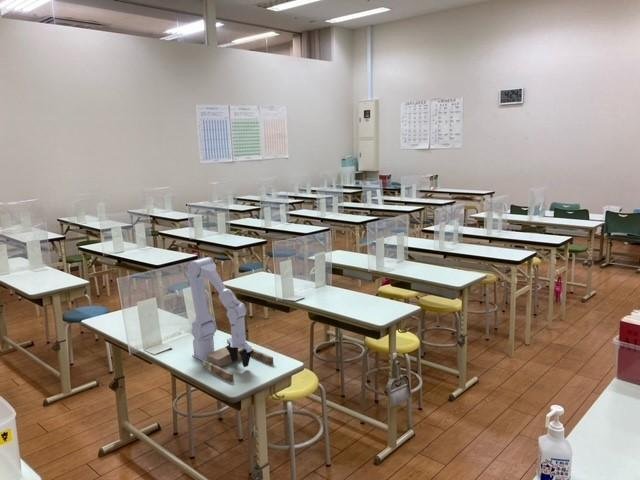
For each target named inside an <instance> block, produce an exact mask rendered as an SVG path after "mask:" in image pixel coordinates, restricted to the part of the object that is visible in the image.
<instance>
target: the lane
mask: <svg viewBox="0 0 640 480" xmlns="http://www.w3.org/2000/svg"><path fill="white" fill-rule="evenodd" d="M252 349H253V352H252V354H251V356H250V357H253V358H255V359H257V360H259V361H262V362H264V363H266V364H268V365H269V366H270V365H271V366H272V365H274V357H273V356H271V355H268V354H266V353H263V352H262V351H259V350H256V349H254V348H252ZM202 368H204V369H205V370H208V371H209V372H211V373H213V374H215V375H217V376H218V377H221V378H223V379H224V380H227V381H229V382H231V383H232V382H234V380H235V379H234V373H233V372H230V371H228V370H227V369H224V368H222V367H218V366H216V365H214V364H212V363H210V362H208V361H207V360H204V361H202Z"/></svg>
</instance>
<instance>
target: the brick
mask: <svg viewBox="0 0 640 480" xmlns="http://www.w3.org/2000/svg"><path fill="white" fill-rule="evenodd" d="M240 351H243V349H241V348H238V360H237V361H239V360H242V358H241V355H240V353H239V352H240ZM206 356H207V360H206V361H208V362H210V363H212V364H214V365H216V366H218V367H220V368H222V367H225V366H228V365H230V364H232V363H233V362H232V359H231V356H230V353H229V351H228V350H227V348H226V346H224V347H222V348H219V349H217V350H214V352H211V353H209V354H207V355H206Z"/></svg>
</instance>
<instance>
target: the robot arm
mask: <svg viewBox="0 0 640 480" xmlns="http://www.w3.org/2000/svg"><path fill="white" fill-rule="evenodd" d="M187 271H188V279H189V285H190V290H191V295H192V301H193V307H194V313H195V318H194V320H192V323H191V326H192V327H191V335H192V336H193V340H192V348H193V354H192V357H193V358H196V359H198V360H200V361H201V362H203V361H204V360H206V361H207V356H206V355H207V354H209V353H211V352H214V351H215V338H214V336H215V333H216V332H217V330H218V328H217V327H218V326H217V324H216V322H215V319H214V316H212V315H211V314H209V310H208V302H207V297H206V292H205V286H204V281H203V280H204V279H207V280H209V282H210V283H211V285H212V286H213V287H214V288H215V290H216V291H217V292H218V299H219V301H221V304H223V306H224V308H225V309H226V311H227V312H226V317H227V318H228V322H229V324H230V333H231V334H230V336H231V337H230V338H227V339H226V344H227V345H225V347H226V348H227V350H228V351H229V353H230V356H231V359H232V363H236V362H237V361H239V360H238V348H241V349H243V351H240V352H239V353H240V355H241V358H242V359H241V361H242V367H243V368H246V367H248V366H249V364H250V358H251V357H252V356H251V354H252V352H253V349H254V348H252V346H251V345H250V344H249V343H248V342H247V341H246V338H247V337H246V324H245V316H246V315H247V313H248V310H247V307H246V304H245V303H243V302H241V301H239V300H238V299H237V297H236V296H235V294H234V292H233V291H232V290H231V289H230V288H227V287H226V286H225V284H224V282H223V280H222V279H221V277H220V275H219V272H218V271H217V264H216V263H215V261H214V260H213V258H212V257H210V256H207V257H203V258H201V259H197V260H192V261H190V262H189V263H188V265H187Z"/></svg>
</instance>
